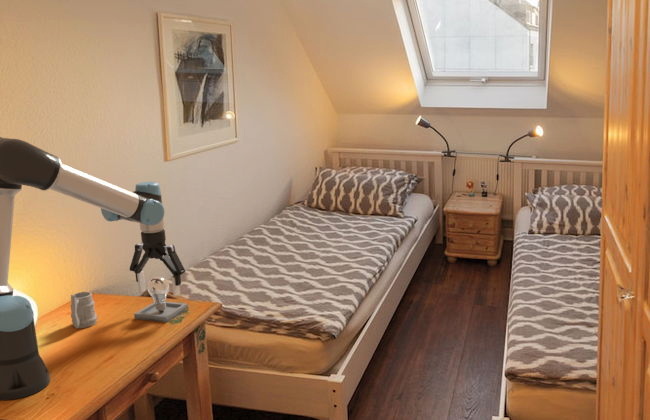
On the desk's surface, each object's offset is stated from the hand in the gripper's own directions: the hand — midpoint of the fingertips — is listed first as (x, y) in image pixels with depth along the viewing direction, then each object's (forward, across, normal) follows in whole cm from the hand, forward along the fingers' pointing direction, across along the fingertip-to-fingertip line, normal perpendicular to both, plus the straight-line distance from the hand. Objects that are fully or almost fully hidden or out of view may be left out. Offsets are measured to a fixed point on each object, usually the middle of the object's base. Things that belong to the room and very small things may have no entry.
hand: (159, 293), depth 228 cm
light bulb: (+7, 0, 0) cm, 7 cm away
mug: (+7, +19, +16) cm, 26 cm away
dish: (+7, 0, 0) cm, 7 cm away
